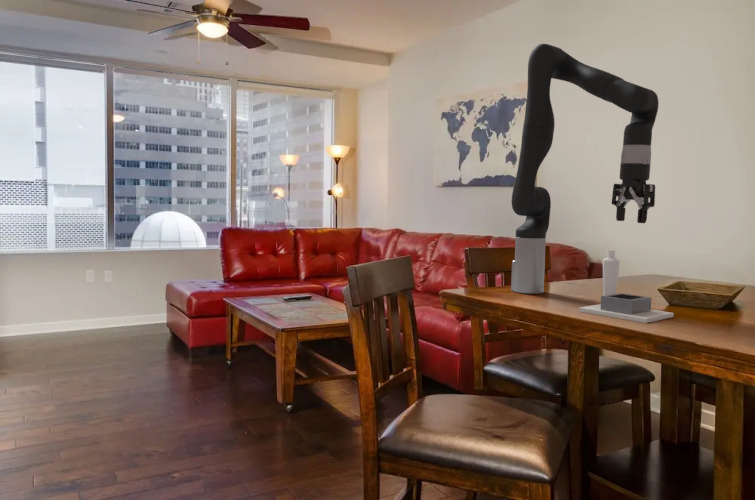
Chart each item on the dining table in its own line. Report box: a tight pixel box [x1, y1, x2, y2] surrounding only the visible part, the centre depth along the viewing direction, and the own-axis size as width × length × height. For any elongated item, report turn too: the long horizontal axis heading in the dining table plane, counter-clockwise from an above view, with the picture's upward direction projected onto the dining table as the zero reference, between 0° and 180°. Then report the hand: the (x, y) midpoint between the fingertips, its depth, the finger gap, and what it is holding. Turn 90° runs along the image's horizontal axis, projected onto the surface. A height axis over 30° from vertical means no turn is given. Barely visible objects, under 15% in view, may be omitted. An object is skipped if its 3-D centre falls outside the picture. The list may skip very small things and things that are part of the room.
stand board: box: [578, 303, 675, 324], centre depth 153 cm, size 18×14×1 cm
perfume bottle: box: [602, 249, 621, 296], centre depth 170 cm, size 5×4×15 cm
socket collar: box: [600, 292, 652, 315], centre depth 153 cm, size 8×9×4 cm
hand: (630, 221), depth 164 cm, fingers open, 8 cm apart
